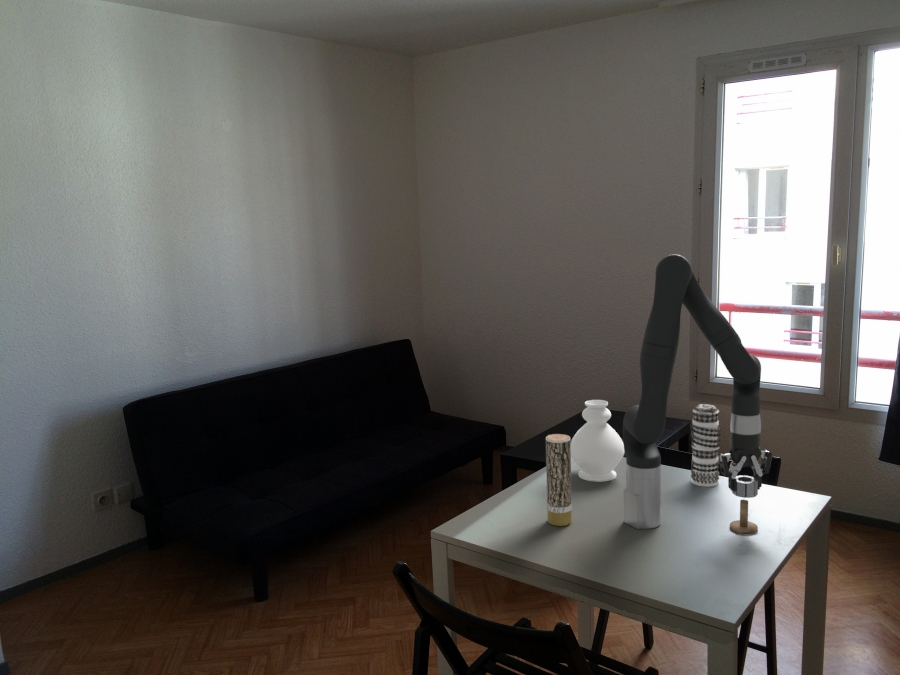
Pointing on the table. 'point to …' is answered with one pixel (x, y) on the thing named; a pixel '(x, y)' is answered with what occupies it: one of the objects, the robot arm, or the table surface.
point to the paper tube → (558, 479)
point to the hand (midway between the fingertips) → (744, 489)
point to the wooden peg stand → (743, 521)
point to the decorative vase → (597, 444)
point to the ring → (746, 486)
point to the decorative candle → (705, 445)
